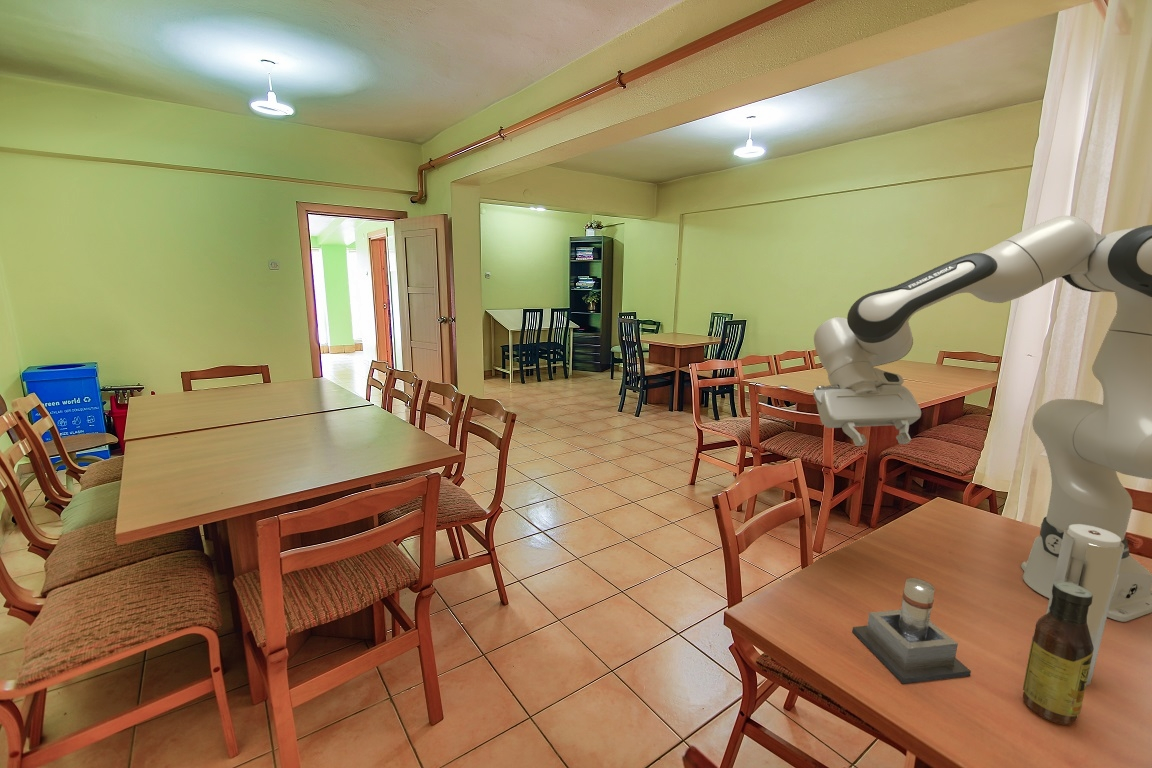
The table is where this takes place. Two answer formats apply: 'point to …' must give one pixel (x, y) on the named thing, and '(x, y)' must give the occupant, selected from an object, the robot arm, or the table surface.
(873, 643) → the collar
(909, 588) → the cylinder
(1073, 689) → the sauce bottle
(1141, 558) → the table surface
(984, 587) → the table surface
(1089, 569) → the silver piece
